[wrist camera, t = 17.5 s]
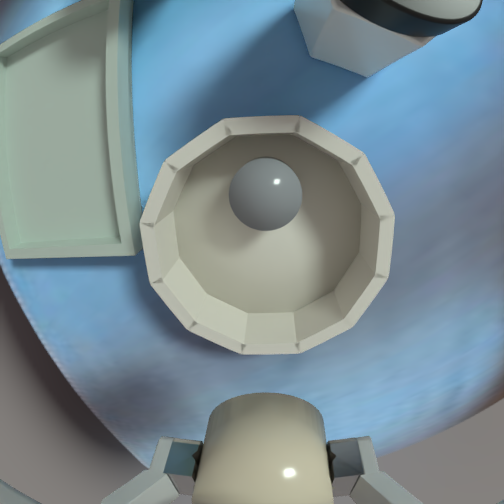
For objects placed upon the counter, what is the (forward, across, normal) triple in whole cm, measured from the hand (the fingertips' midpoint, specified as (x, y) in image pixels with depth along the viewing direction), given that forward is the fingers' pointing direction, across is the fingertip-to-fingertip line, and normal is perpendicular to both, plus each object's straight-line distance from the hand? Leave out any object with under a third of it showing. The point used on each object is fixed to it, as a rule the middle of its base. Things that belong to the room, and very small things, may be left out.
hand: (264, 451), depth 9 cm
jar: (+17, -7, -19) cm, 26 cm away
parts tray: (+16, +18, -13) cm, 28 cm away
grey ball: (+16, 0, -7) cm, 17 cm away
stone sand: (+1, 0, 0) cm, 1 cm away
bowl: (+16, 0, -3) cm, 17 cm away
